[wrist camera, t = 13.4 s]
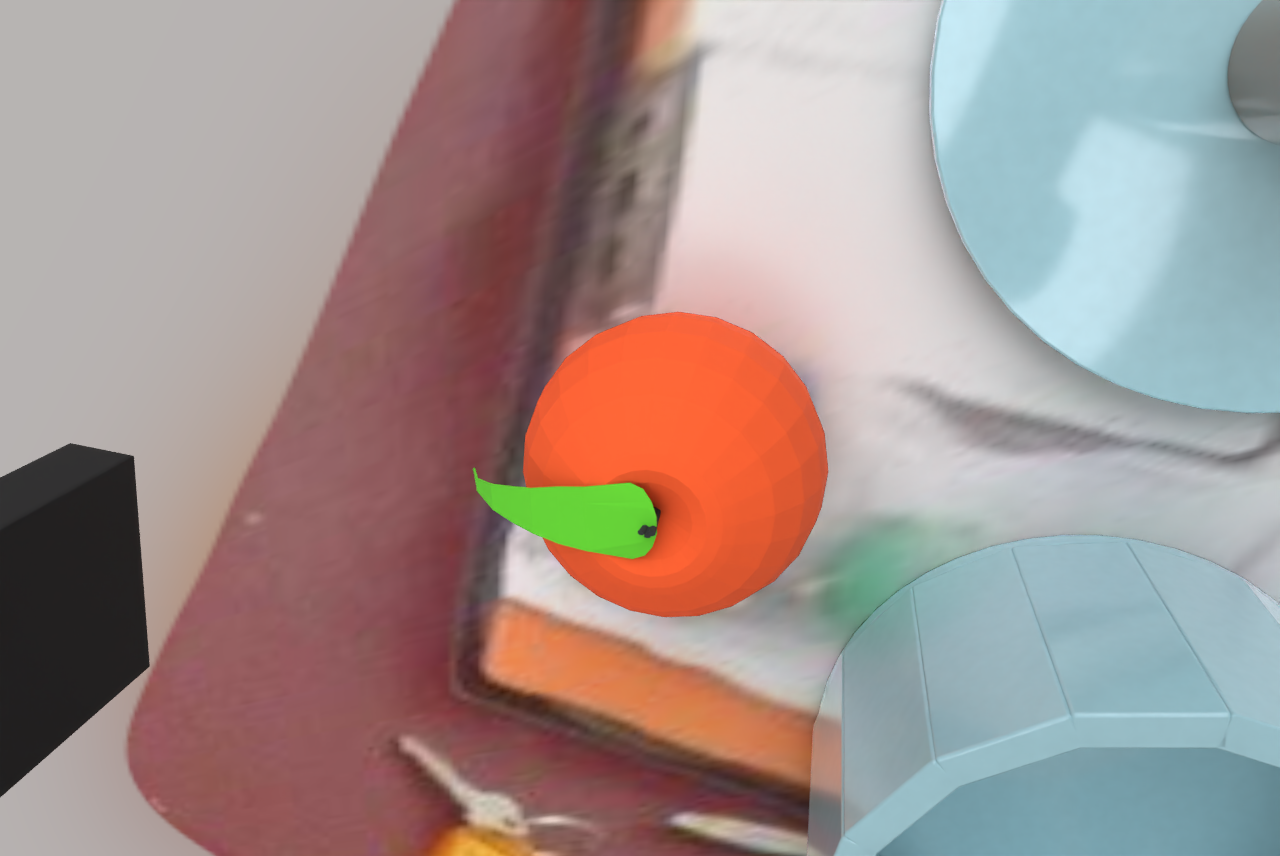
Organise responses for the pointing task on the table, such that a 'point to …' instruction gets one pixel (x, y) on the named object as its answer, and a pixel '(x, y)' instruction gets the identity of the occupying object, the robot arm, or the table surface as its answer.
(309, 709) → the table surface
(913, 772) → the pot
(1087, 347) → the lid
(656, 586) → the clementine
